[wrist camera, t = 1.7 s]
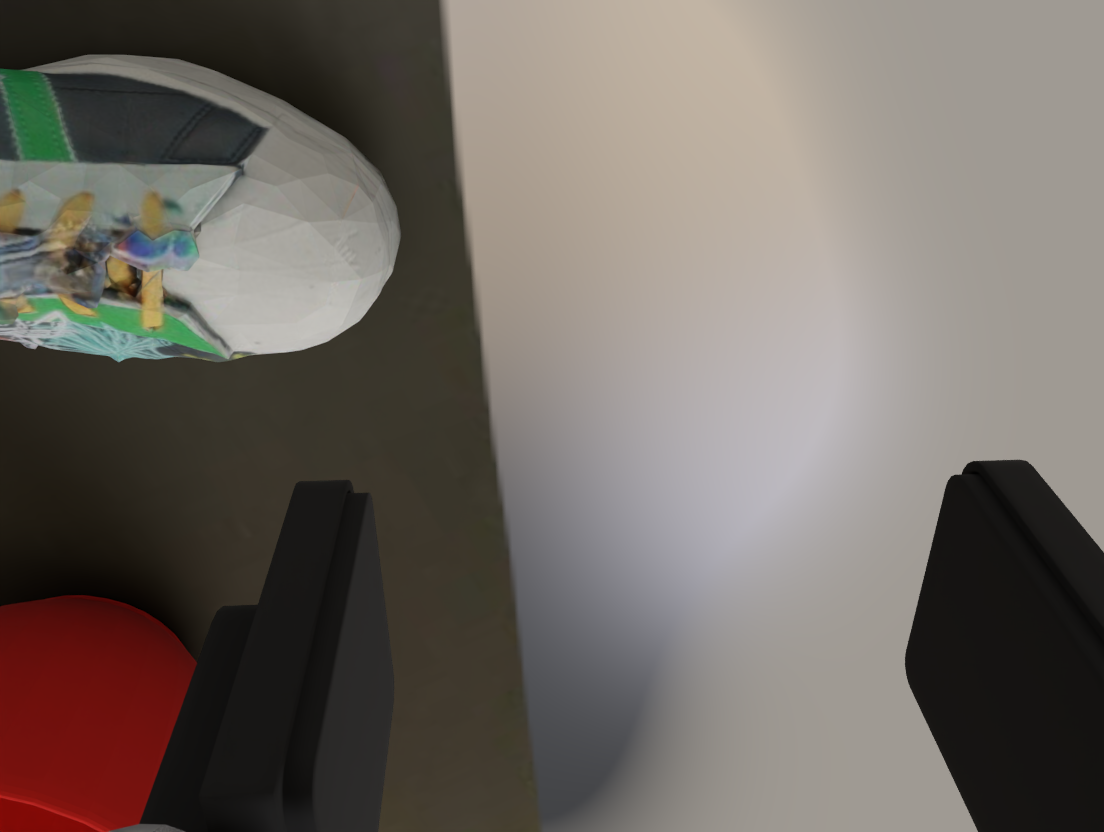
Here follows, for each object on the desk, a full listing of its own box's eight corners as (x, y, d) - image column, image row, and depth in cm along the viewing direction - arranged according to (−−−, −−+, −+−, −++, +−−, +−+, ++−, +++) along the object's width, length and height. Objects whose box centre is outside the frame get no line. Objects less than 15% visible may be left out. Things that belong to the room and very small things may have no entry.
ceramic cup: (75, 876, 41) (-39, 1158, 32) (-186, 570, 32) (-436, 844, 23) (374, 813, 39) (340, 1088, 31) (187, 476, 31) (67, 729, 22)
